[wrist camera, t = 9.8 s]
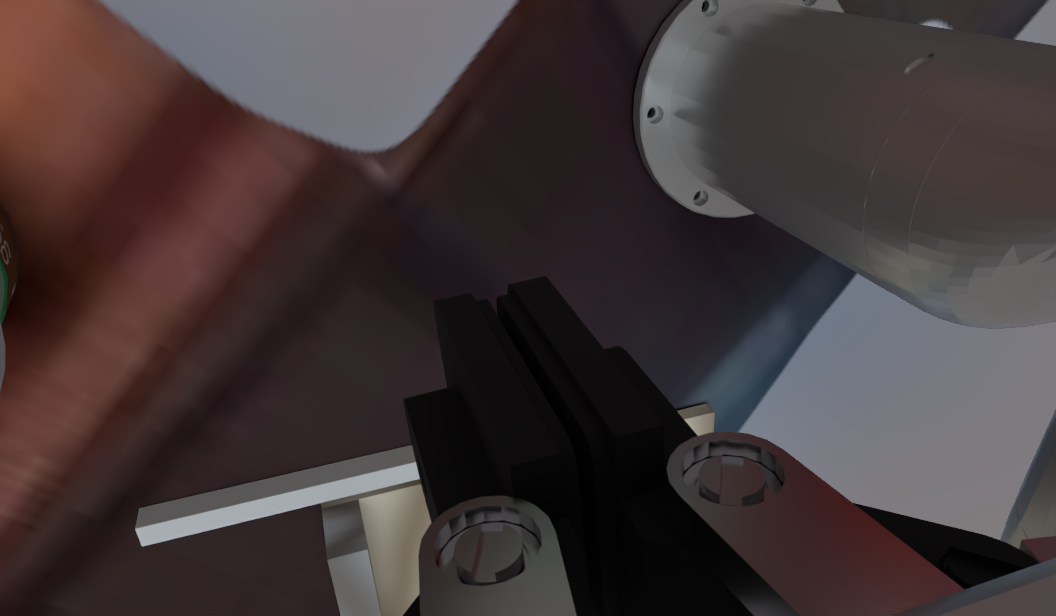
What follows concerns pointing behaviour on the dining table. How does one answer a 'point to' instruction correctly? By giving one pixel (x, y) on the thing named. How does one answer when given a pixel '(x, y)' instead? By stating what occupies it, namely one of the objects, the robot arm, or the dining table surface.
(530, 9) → the dining table surface
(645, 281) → the dining table surface
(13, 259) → the food container
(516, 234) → the dining table surface
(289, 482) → the lane rails
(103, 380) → the dining table surface
